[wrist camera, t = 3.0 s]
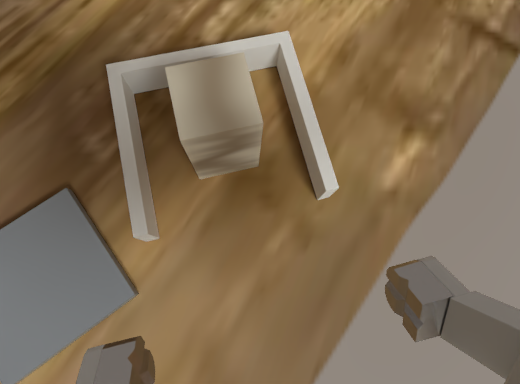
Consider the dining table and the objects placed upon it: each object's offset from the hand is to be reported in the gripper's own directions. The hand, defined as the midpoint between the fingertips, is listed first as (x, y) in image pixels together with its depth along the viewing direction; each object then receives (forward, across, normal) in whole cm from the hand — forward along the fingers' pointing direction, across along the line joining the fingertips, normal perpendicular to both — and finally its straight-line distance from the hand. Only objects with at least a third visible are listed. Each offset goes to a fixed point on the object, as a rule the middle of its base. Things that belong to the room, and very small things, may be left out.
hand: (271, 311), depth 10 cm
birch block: (+19, 0, +2) cm, 19 cm away
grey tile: (+13, +15, +7) cm, 21 cm away
